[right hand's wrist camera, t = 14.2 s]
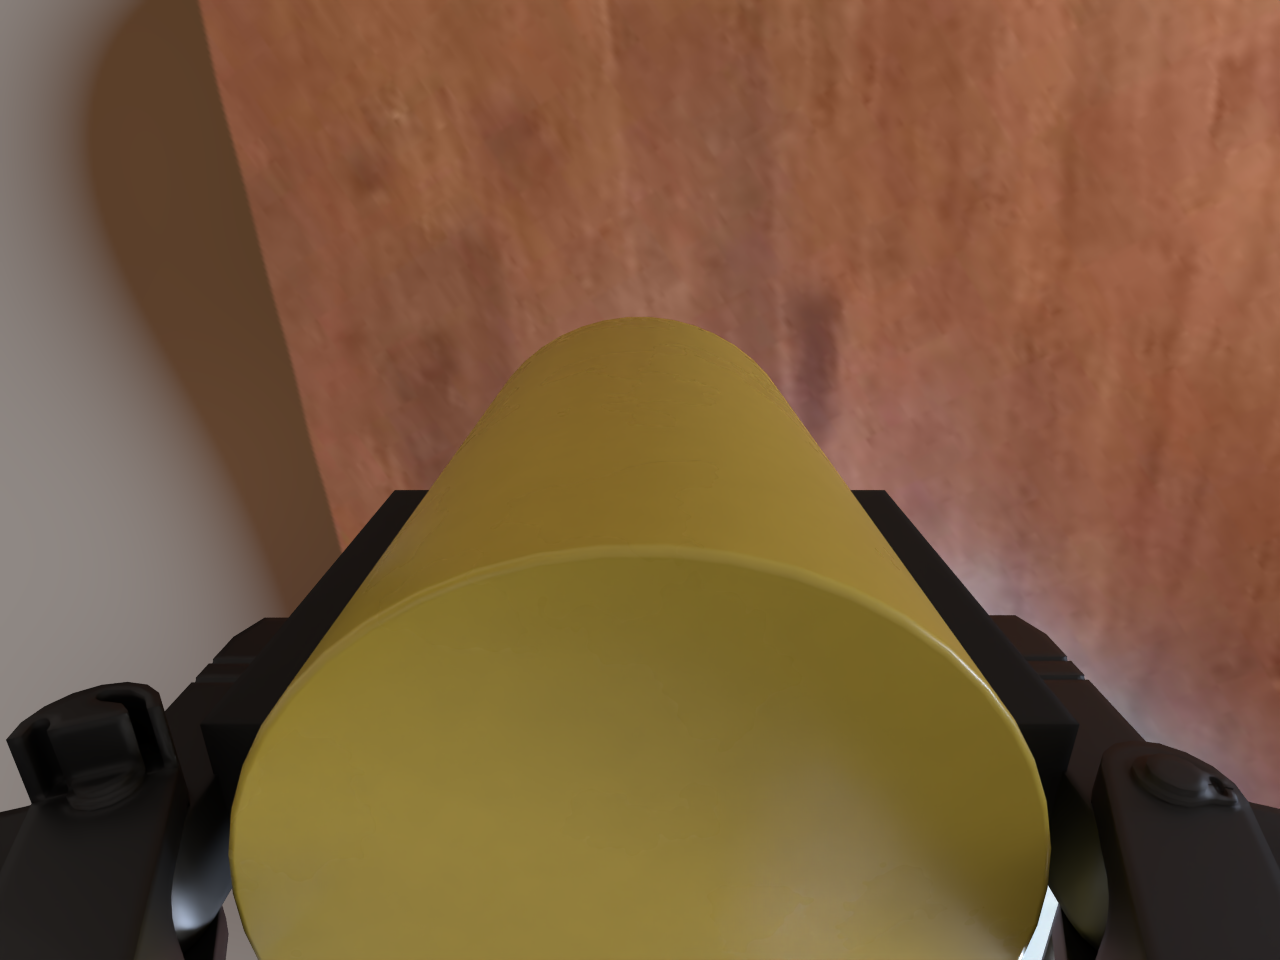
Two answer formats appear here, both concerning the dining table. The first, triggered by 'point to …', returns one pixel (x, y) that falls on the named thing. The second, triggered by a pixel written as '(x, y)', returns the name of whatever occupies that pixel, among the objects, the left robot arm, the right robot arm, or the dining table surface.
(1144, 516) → the dining table surface
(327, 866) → the cylinder
